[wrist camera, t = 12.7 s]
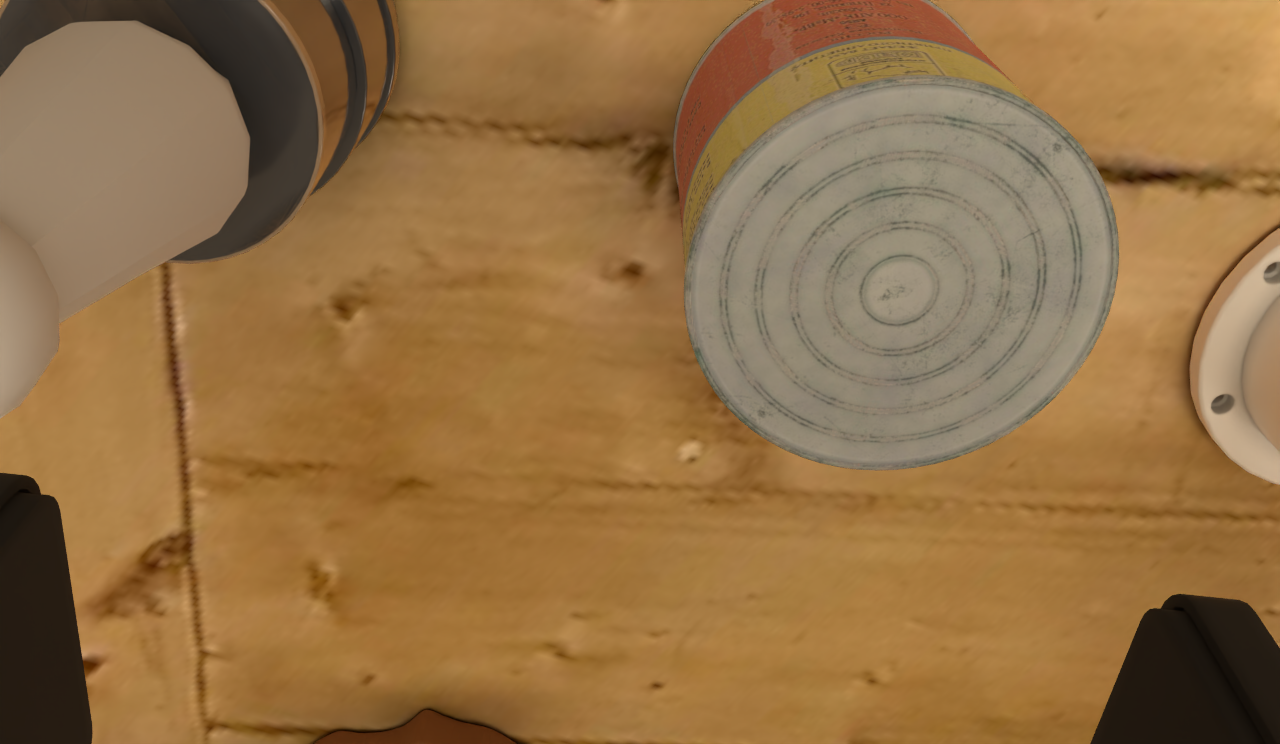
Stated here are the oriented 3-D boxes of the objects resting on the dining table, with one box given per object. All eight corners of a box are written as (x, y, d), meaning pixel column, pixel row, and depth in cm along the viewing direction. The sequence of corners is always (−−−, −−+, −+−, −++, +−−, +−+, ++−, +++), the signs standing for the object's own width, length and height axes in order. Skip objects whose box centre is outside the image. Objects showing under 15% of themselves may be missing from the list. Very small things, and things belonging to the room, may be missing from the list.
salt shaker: (111, -52, 28) (-241, 103, 17) (316, 94, 30) (121, 324, 19) (8, 132, 31) (-363, 378, 19) (205, 259, 32) (-29, 553, 21)
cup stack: (461, -9, 39) (407, 74, 30) (322, 208, 43) (237, 338, 34) (200, -197, 36) (56, -167, 27) (76, 52, 40) (-87, 150, 31)
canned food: (876, 339, 45) (947, 529, 35) (616, 204, 42) (608, 366, 32) (1064, 82, 40) (1212, 211, 30) (783, -88, 38) (838, -11, 27)
